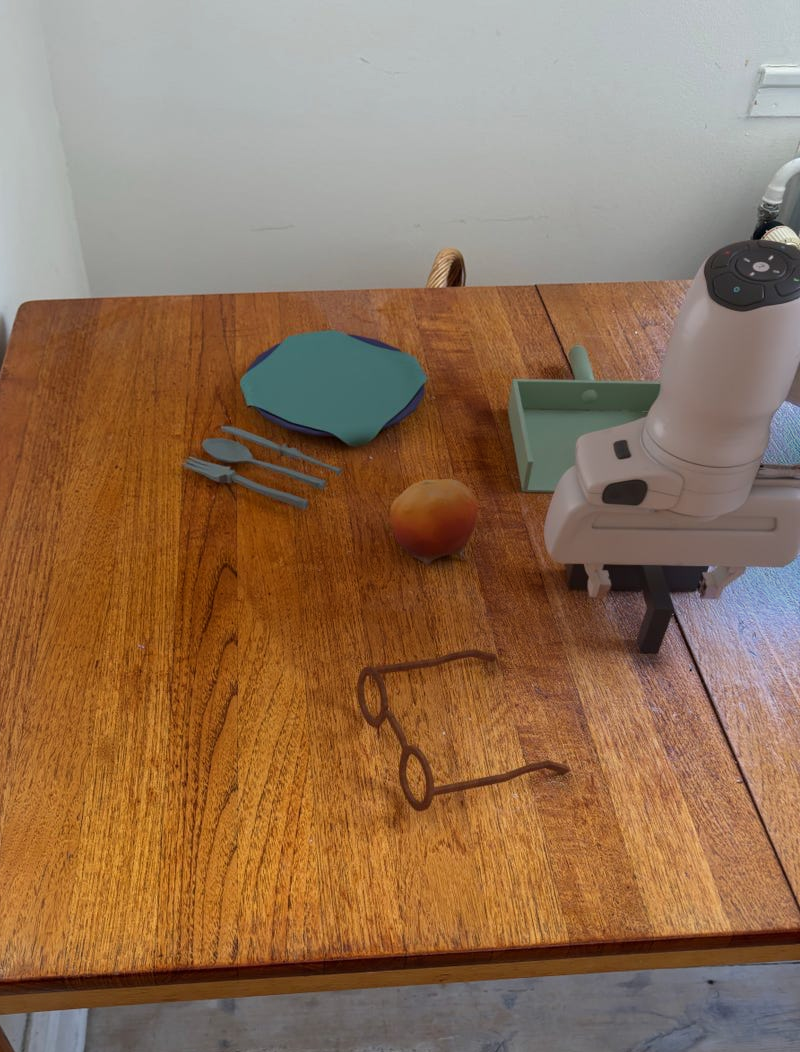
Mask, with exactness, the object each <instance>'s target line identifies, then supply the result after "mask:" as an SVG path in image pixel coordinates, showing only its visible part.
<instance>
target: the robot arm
mask: <svg viewBox="0 0 800 1052" xmlns="http://www.w3.org/2000/svg"><path fill="white" fill-rule="evenodd" d="M659 369H660V370H659V381H660V392H659V395H658V397H657V399H656V401H655V402H654V403H653V405H652V406H651V408H650V410H649V411H647V412H648V415H647V417H644V418H641V419H639V420H636V421H633V422H630V423H626V424H623V425H619V426H616V427H612V428H608V429H604V430H599V431H595V432H591V433H587V434H584V435H582V436H581V437H579V438H578V440H577V442H576V446H575V463H576V465H574V466H572V467H571V468H569V469H568V470H567V471H566V472H565V473H564V474H563V476H562V477H561V479H560V480H559V482H558V485H557V487H556V489H555V492H554V493H553V494H552V496H551V500H550V502H549V506H548V509H547V513H546V516H545V520H544V524H543V525H544V526H543V538H544V546H545V549H546V552H547V554H548V556H549V557H550V558H551V559H552V561H553V562H554V563H556V564H560V565H561V564H563V565H564V564H584V566H585V570H586V572H587V574H588V576H589V579H588V590H587V591H588V595H589V598H609V595H610V594H609V592H610V591H611V590H610V588H611V581H610V579H609V573H608V571H607V570H602V569H603V566H604V564H618V565H673V566H709V567H715V568H714V569H713V570H712V571H707V572H702V574H701V577H700V579H701V580H700V581H699V582H698V586H697V593H698V594H699V599H700V600H710V601H711V600H714V601H715V600H716V601H718V600H720V597H721V596H722V595H723V594H722V593H723V591H724V588H725V587H728V586H729V585H730V584H732V583H733V582H735V581H736V580H737V579H739V578H740V577H741V576H743V575H744V574H745V571H746V569H747V568H784V567H786V566H788V565H789V564H791V563H793V562H794V561H795V560H796V559H798V557H799V555H800V463H792V464H784V463H783V464H782V463H776V462H763V459H764V457H765V453H766V451H767V449H768V446H769V443H770V439H771V424H772V420H773V419H774V416H775V414H776V413H777V412H778V411H779V409H780V408H781V407H782V405H783V404H784V403H785V402H787V403H789V404H791V405H794V406H795V407H798V408H800V249H798V248H797V247H795V246H792V245H789V244H787V243H785V242H780V241H776V240H769V239H749V240H741V241H736V242H733V243H730V244H726V245H725V246H722V247H720V248H718V249H717V250H715V251H714V252H712V253H711V254H709V256H708V257H706V259H705V260H704V261H703V263H702V265H701V266H700V267H699V269H698V271H697V272H696V275H695V276H694V278H693V280H692V281H691V284H690V285H689V288H688V290H687V292H686V294H685V297H684V299H683V301H682V304H681V306H680V309H679V310H678V313H677V316H676V319H675V321H674V324H673V327H672V329H671V332H670V335H669V337H668V341H667V344H666V347H665V351H664V354H663V358H662V362H661V365H660V368H659Z"/></svg>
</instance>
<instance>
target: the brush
mask: <svg viewBox="0 0 800 1052" xmlns="http://www.w3.org/2000/svg"><path fill="white" fill-rule="evenodd" d="M563 565H564V566H563V567H564V575H565V578H566V583H567V587H568V590H583V591H584V590H585V591H588V579H589V576H588V574H587V572H586V570H585V566H584V564H563ZM709 568H710V566H673V565H618V564H604V566H603V569H602V570H607V571H608V573H609V579H610V581H611V588H610V591H638V592H639V591H641V592H642V593H641V594H642V597H643V600H644V603H645V607H646V610H645V613H644V616H643V619H642V622H641V625H640V628H639V630H638V634H637V638H636V643H637V646H638V650H639V653H640V654H659V652H660V649H661V647H662V644H663V642H664V638H665V635H666V633H667V630H668V628H669V625H670V622H671V619H672V617H673V614H674V611H675V608H674V607H675V606H674V604H673V601H672V597H671V594H670V592H691V593H692V592H694V593H696V592H698V589H697V586H698V582H699V581H700V580H701V579H700V577H701V574H702V572H709V571H708V570H709Z"/></svg>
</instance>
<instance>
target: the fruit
mask: <svg viewBox="0 0 800 1052" xmlns="http://www.w3.org/2000/svg"><path fill="white" fill-rule="evenodd" d="M479 507H480V506H479V503H478V499H477V497H476V496H475V493H473V491H472V490H471V489H470V488H469V487H467V486H466V485H465V484H463V482H460V481H458V480H456V479H450V478H442V479H423V480H420V481H416V482H413V483H412V484H411V485H410V486H408V487H407V488H406V489H405V490H404V491H403V492H401V494H399V495H398V497H396V498H394V500H393V502H392V503H391V506H390V525H391V528H392V533H393V535H394V537H395V539H396V542H397V544H398V545H399V546H400V547H401V548H402V549H403V550H404V552H405V553H406V554H407V555H408V556H411V557H413V558H414V559H417V560H419V561H420V562H423V563H424V564H425V565H426V567H429V565H430V564H431V562H433V561H435V560H437V559H439V558H441V557H444V556H445V557H446V556H449V555H451V556H452V555H453V556H460V557H462V558H463V560H465V561H467V558H466V556H465V555H464V553H463V549H465V547H467V545H468V542H469V541H470V539H471V537H472V535H473V533H474V530H475V527H476V524H477V521H478V516H479V510H480V508H479Z"/></svg>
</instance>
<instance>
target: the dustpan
mask: <svg viewBox="0 0 800 1052" xmlns="http://www.w3.org/2000/svg"><path fill="white" fill-rule="evenodd" d="M568 358H569V362H570V366H571V370H572V374H573V377H574V379H550V378H549V379H548V378H547V379H545V378H542V379H541V378H539V379H538V378H512V379H511V385H510V391H509V398H508V402H507V414H508V419H509V425H510V430H511V431H510V432H511V436H512V441H513V447H514V453H515V454H514V455H515V457H516V458H515V459H516V464H517V469H518V475H519V481H520V487H521V492H522V493H543V494H544V493H545V494H546V493H547V494H548V493H549V494H550V493H551V494H552V493H553V494H554V492H555V489H556V487H557V485H558V482H559V480H560V479H561V477H562V476H563V474H564V473H565V472H566V471H567V470H568V469H569V468H571V467H572V466H574V465H576V463H575V446H576V442H577V440H578V438H579V437H581V436H582V435H584V434H587V433H591V432H595V431H599V430H604V429H608V428H612V427H616V426H619V425H623V424H626V423H630V422H633V421H636V420H638V419H640V418H643V417H647V415H648V412H649V410H650V408H651V406H652V405H653V403H654V402H655V401H656V399H657V397H658V395H659V392H660V380H658V381H656V380H655V381H653V380H605V379H604V380H601V379H597V380H596V379H595V376H594V372H593V369H592V364H591V362H590V358H589V355H588V352H587V349H586V347H584V345H581V344H575V345H573V346H572V347H570V349H569V350H568Z"/></svg>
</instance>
